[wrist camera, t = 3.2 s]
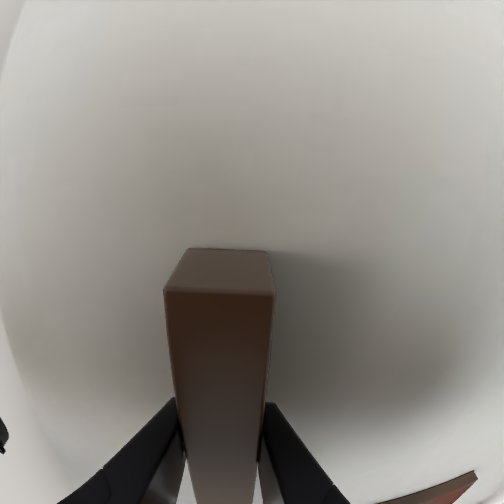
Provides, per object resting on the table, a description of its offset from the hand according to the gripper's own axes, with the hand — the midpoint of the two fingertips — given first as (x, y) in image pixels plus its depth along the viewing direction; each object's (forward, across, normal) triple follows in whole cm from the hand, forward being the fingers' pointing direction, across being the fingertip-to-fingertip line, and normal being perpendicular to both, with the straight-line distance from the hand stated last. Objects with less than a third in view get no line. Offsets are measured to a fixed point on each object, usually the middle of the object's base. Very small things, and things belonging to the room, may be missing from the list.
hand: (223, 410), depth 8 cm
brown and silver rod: (+1, 0, +6) cm, 6 cm away
